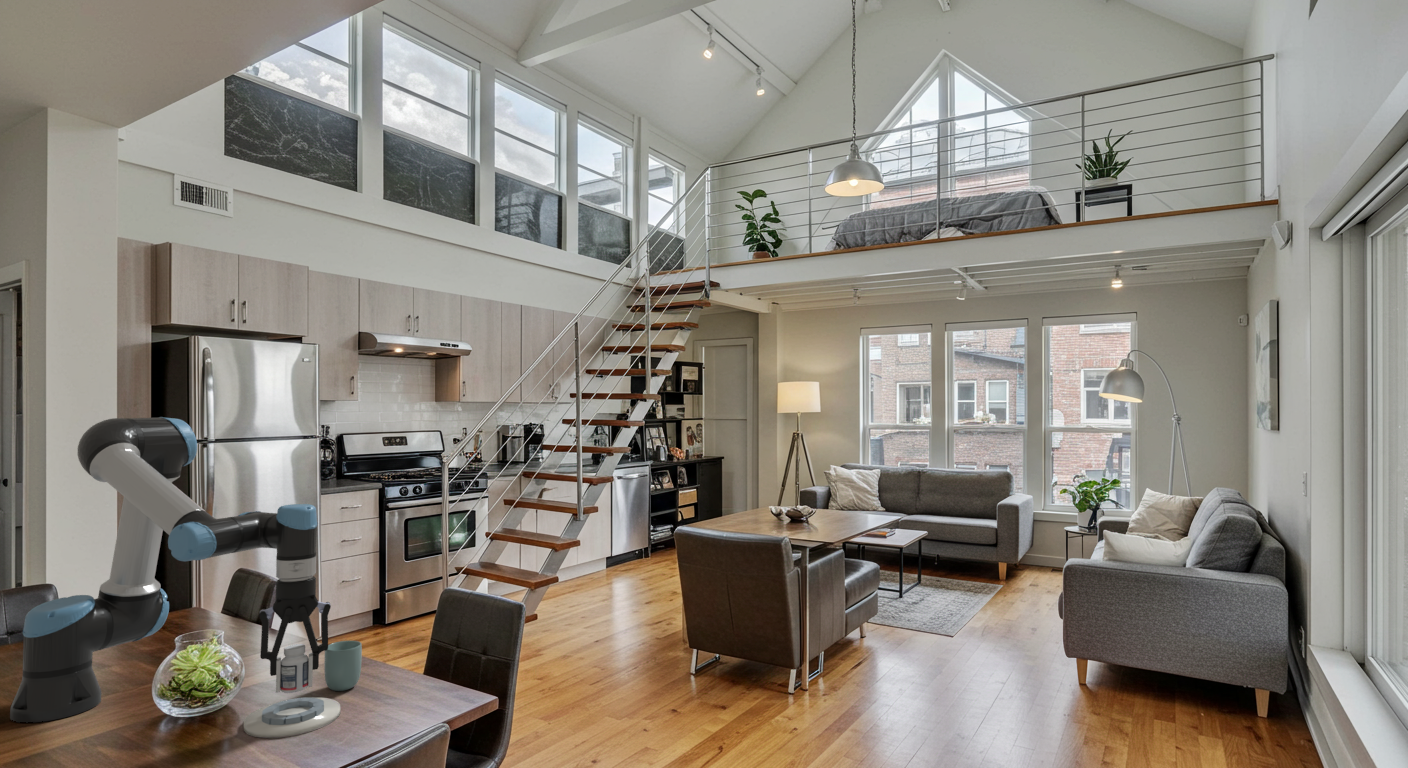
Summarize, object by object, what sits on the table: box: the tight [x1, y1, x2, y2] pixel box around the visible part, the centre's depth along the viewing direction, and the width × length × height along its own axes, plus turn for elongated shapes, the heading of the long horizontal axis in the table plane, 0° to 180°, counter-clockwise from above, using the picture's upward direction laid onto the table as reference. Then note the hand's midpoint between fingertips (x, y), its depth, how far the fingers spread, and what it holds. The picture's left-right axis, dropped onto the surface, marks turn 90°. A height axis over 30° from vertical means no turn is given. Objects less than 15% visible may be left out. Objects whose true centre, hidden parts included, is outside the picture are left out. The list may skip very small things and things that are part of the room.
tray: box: [243, 696, 341, 739], centre depth 159 cm, size 18×18×2 cm
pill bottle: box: [280, 643, 309, 694], centre depth 159 cm, size 5×5×9 cm
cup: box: [323, 640, 363, 692], centre depth 177 cm, size 8×8×10 cm
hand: (294, 687), depth 159 cm, fingers closed on pill bottle, 5 cm apart
